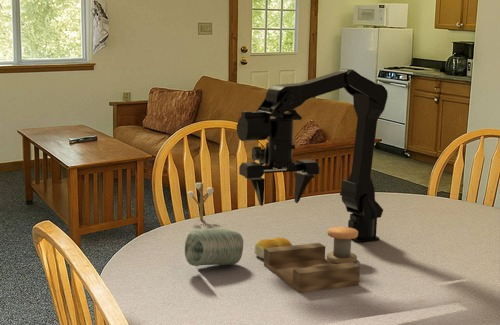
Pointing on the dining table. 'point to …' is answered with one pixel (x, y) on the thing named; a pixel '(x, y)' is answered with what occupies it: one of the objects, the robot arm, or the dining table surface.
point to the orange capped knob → (342, 245)
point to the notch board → (309, 268)
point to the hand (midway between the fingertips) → (279, 204)
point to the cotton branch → (201, 196)
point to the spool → (213, 247)
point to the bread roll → (270, 245)
